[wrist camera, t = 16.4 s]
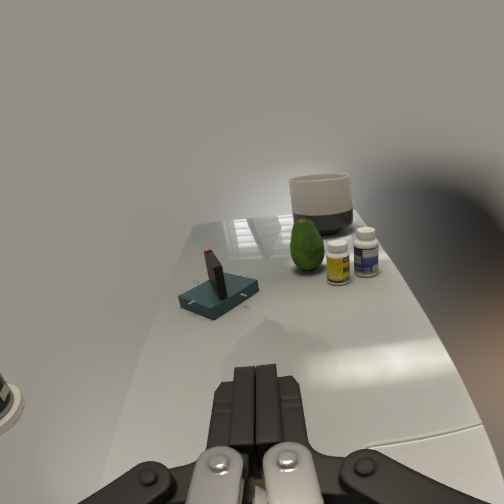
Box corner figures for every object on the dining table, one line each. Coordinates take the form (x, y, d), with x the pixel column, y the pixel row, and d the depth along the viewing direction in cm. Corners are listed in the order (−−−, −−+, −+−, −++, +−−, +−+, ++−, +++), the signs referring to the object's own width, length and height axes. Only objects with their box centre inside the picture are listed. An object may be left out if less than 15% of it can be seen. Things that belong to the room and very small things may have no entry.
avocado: (289, 265, 73) (284, 217, 70) (320, 261, 74) (317, 213, 70) (295, 279, 66) (290, 225, 62) (330, 273, 66) (327, 220, 62)
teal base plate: (219, 327, 51) (216, 314, 51) (169, 306, 61) (166, 294, 60) (272, 291, 62) (270, 279, 61) (220, 278, 72) (218, 268, 71)
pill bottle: (351, 269, 66) (350, 227, 63) (374, 266, 66) (373, 225, 63) (357, 279, 61) (356, 234, 58) (380, 276, 61) (381, 231, 58)
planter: (354, 222, 102) (351, 172, 96) (351, 240, 85) (348, 178, 79) (301, 224, 109) (296, 175, 103) (288, 240, 92) (281, 182, 87)
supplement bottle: (346, 287, 59) (345, 247, 56) (324, 284, 61) (322, 245, 59) (352, 277, 63) (351, 239, 60) (331, 275, 65) (329, 238, 62)
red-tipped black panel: (228, 298, 56) (221, 264, 54) (219, 300, 56) (213, 266, 53) (216, 277, 66) (210, 248, 64) (209, 279, 66) (203, 249, 63)
